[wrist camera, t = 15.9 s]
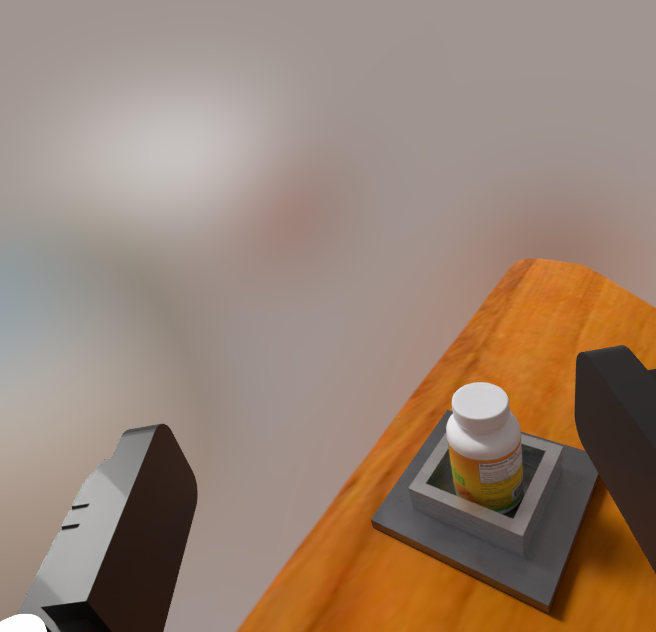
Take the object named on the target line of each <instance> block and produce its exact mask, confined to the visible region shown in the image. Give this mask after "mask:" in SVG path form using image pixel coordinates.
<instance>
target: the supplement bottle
mask: <svg viewBox="0 0 656 632" xmlns="http://www.w3.org/2000/svg"><path fill="white" fill-rule="evenodd" d="M452 410H453V414H452V415H451V416H450V418H449V420H448V422H447V426H446V434H447V442H448V448H449V455H450V461H451V468H452V475H453V482H454V488H455V492H456V495H457V496H458V497H460V498H463V499H465V500H468V501H470V502H473V503H475V504H478V505H480V506H483V507H485V508H487V509H490V510H492V511H495V512H497V513H500V514H504V513H507V512H509V511H511V510H512V509H514V508H515V507H516V506H517V505H518V504H519V502H520V501H521V498H522V496H523V488H524V482H523V464H522V446H521V431H520V426H519V423H518V420H517V419H516V417H515V416H514V415H513V414H512V412H510V408H509V399H508V396H507V394H506V393H505V391H504V390H502V389H501V388H500V387H498V386H496V385H493V384H490V383H482V382H479V383H471V384H468V385H465V386H463V387H461V388H460V389H458V390H457V391H456V392H455V394H454V395H453V398H452Z"/></svg>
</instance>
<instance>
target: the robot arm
mask: <svg viewBox="0 0 656 632" xmlns="http://www.w3.org/2000/svg"><path fill="white" fill-rule="evenodd" d="M575 422H576V427H577V431H578V435H579V438H580V440H581V443H582V445H583V447H584V449H585V451H586V452H587V454H588V456H589V458H590V459H591V461H592V463H593V465H594V466H595V468H596V470H597V472H598V473H599V475H600V477H601V479H602V480H603V482H604V484H605V486H606V487H607V489H608V491H609V493H610V494H611V496H612V498H613V500H614V501H615V503H616V505H617V507H618V508H619V510H620V512H621V514H622V516H623V517H624V519H625V521H626V523H627V524H628V526H629V528H630V530H631V531H632V533H633V535H634V537H635V538H636V540H637V542H638V544H639V545H640V547H641V549H642V551H643V552H644V554H645V556H646V558H647V559H648V561H649V563H650V565H651V566H652V568H653V570H654V572H655V573H656V369H653V370H647V369H646V368H645V367H644V365H643V364H642V363H641V362H640V361H639V360H638V358H637V357H636V356H635V355H634V354H633V353H632V351H631V350H630V349H629V348H627V347H626V346H624V345H621V346H615V347H609V348H603V349H598V350H592V351H586V352H581V353H579V354H578V356H577V360H576V384H575ZM196 504H197V483H196V479H195V476H194V474H193V471H192V469H191V467H190V466H189V464H188V462H187V460H186V458H185V456H184V454H183V452H182V450H181V448H180V446H179V444H178V443H177V441H176V439H175V437H174V435H173V433H172V431H171V429H170V428H169V427H168V426H167V425H165V424H158V425H152V426H147V427H141V428H135V429H129V430H127V431H125V432H124V433H123V435H122V436H121V438H120V441H119V443H118V445H117V447H116V449H115V451H114V453H113V455H112V457H111V459H106V460H103V461H102V463H101V464H100V465H99V466H98V467H97V468H96V469H95V470H94V471H93V473H92V474H91V475H90V476H89V477H88V478H87V480H86V481H84V483H83V485H82V487H81V489H80V491H79V493H78V495H77V497H76V499H75V501H74V503H73V505H72V511H69V512H68V514H67V516H66V518H65V520H64V522H63V524H62V531H59V532H58V534H57V536H56V538H55V540H54V542H53V544H52V546H51V548H50V550H49V552H48V554H47V556H46V558H45V560H44V562H43V564H42V566H41V567H40V569H39V571H38V573H37V575H36V577H35V579H34V581H33V583H32V585H31V587H30V589H29V591H28V593H27V595H26V597H25V599H24V601H23V603H22V605H21V607H20V609H19V610H18V612H17V614H16V616H14V617H10V618H8V619H6V620H4V621H2V622H0V632H163V631H164V627H165V623H166V619H167V615H168V612H169V608H170V604H171V600H172V596H173V593H174V589H175V585H176V581H177V577H178V573H179V569H180V565H181V562H182V558H183V554H184V551H185V546H186V543H187V539H188V535H189V532H190V528H191V524H192V520H193V516H194V512H195V509H196Z"/></svg>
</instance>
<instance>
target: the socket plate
mask: <svg viewBox="0 0 656 632" xmlns="http://www.w3.org/2000/svg"><path fill="white" fill-rule="evenodd" d="M452 414H453V411H450V410H447V411H446V413H445V414H444V415H443V417H442V418H441V420H440V421H439V423H438V424H437V425H436V427H435V428H434V430H433V431H432V433H431V434H430V436H429V437H428V438H427V440H426V441H425V443H424V444H423V446H422V447H421V448H420V450H419V451H418V453H417V454H416V456H415V457H414V458H413V460H412V461H411V463H410V464H409V466H408V467H407V469H406V470H405V471H404V473H403V474H402V476H401V477H400V479H399V480H398V481H397V483H396V484H395V486H394V487H393V489H392V490H391V491H390V493H389V494H388V496H387V497H386V499H385V500H384V502H383V503H382V504H381V506H380V507H379V509H378V510H377V512H376V513H375V514H374V516H373V517H372V519H371V522H372V525H373V527H374V528H376V529H378V530H380V531H382V532H384V533H386V534H388V535H390V536H392V537H394V538H396V539H398V540H400V541H402V542H404V543H406V544H408V545H410V546H412V547H414V548H416V549H418V550H420V551H422V552H424V553H426V554H428V555H430V556H432V557H434V558H436V559H438V560H440V561H442V562H444V563H446V564H448V565H450V566H452V567H454V568H456V569H458V570H460V571H462V572H464V573H466V574H468V575H470V576H472V577H474V578H476V579H478V580H480V581H483V582H485V583H487V584H489V585H491V586H493V587H495V588H497V589H499V590H501V591H503V592H505V593H507V594H509V595H511V596H513V597H515V598H517V599H519V600H521V601H523V602H525V603H527V604H529V605H531V606H533V607H535V608H537V609H539V610H541V611H543V612H545V613H547V614H549V612H550V609H551V606H552V604H553V601H554V598H555V596H556V593H557V590H558V587H559V585H560V582H561V579H562V577H563V574H564V571H565V569H566V566H567V563H568V560H569V558H570V555H571V552H572V550H573V547H574V544H575V542H576V539H577V536H578V533H579V531H580V528H581V525H582V523H583V520H584V517H585V515H586V512H587V509H588V506H589V504H590V501H591V498H592V496H593V493H594V490H595V487H596V485H597V482H598V479H599V477H600V475H599V473H598V472H597V470H596V468H595V466H594V465H593V463H592V461H591V459H590V458H589V456H588V454H587V452H586V451H583V450H580V449H577V448H573V447H570V446H567V445H563V444H560V443H556V442H553V441H550V440H546V439H543V438H540V437H536V436H533V435H530V434H526V433H523V432H521V446H522V464H523V482H524V488H523V496H522V498H521V501H520V502H519V504H518V505H517V506H516V507H515V508H514V509H512V510H511V511H509V512H507V513H504V514H500V513H497V512H495V511H492V510H490V509H487V508H485V507H483V506H480V505H478V504H475V503H473V502H470V501H468V500H465V499H463V498H460V497H458V496H457V495H456V492H455V488H454V482H453V475H452V468H451V461H450V455H449V448H448V442H447V434H446V426H447V422H448V420H449V418H450V416H451V415H452Z"/></svg>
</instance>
